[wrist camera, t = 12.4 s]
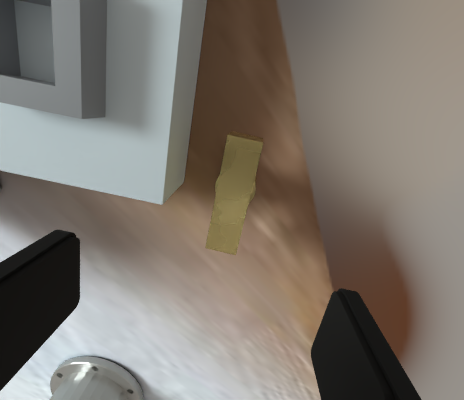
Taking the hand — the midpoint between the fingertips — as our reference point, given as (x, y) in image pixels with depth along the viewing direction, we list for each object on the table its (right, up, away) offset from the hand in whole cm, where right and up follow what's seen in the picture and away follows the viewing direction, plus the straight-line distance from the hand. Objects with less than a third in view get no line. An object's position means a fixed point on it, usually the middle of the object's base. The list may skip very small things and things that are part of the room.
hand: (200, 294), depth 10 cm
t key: (+2, +6, +14) cm, 16 cm away
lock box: (-10, +15, +12) cm, 22 cm away
